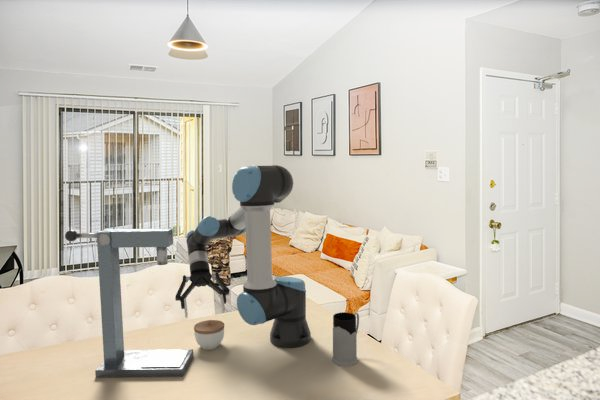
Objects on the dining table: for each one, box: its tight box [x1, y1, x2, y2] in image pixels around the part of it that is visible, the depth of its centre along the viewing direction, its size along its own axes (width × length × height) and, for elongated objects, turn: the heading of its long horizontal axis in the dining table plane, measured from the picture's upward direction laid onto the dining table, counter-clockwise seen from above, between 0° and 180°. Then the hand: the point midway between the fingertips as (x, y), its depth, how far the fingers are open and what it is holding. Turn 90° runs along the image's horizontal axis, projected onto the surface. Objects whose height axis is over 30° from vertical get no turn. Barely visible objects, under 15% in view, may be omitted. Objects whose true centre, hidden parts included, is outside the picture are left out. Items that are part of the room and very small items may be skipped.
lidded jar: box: [193, 319, 225, 350], centre depth 156 cm, size 11×11×9 cm
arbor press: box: [64, 228, 194, 379], centre depth 139 cm, size 37×14×45 cm, turn 90°
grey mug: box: [331, 311, 360, 367], centre depth 146 cm, size 9×14×15 cm, turn 145°
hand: (205, 313), depth 160 cm, fingers open, 13 cm apart
